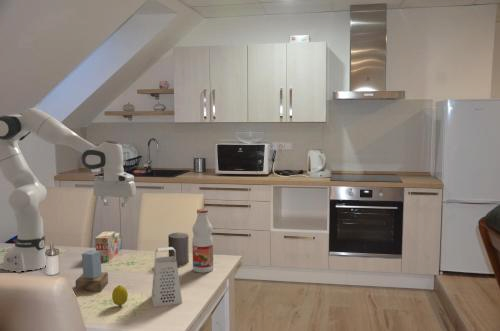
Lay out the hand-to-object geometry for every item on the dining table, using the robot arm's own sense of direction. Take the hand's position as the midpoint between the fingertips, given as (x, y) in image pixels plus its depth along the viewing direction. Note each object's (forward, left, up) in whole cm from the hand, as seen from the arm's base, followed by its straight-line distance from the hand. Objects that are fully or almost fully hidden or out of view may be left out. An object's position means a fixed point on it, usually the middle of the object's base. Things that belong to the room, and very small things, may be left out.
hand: (115, 206), depth 215 cm
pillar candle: (+25, +14, -29) cm, 41 cm away
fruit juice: (+40, +7, -29) cm, 50 cm away
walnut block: (+4, -25, -30) cm, 39 cm away
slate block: (+4, -25, -24) cm, 35 cm away
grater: (+39, -30, -29) cm, 57 cm away
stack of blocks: (-14, +17, -30) cm, 37 cm away
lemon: (+25, -40, -29) cm, 56 cm away
